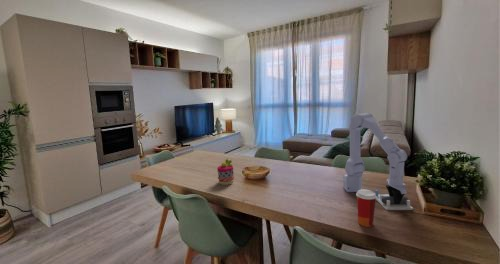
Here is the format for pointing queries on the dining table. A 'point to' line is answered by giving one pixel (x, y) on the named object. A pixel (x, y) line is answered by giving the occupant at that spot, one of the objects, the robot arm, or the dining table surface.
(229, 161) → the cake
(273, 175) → the dining table surface
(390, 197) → the dark grey capsule
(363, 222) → the paper cup
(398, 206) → the board
